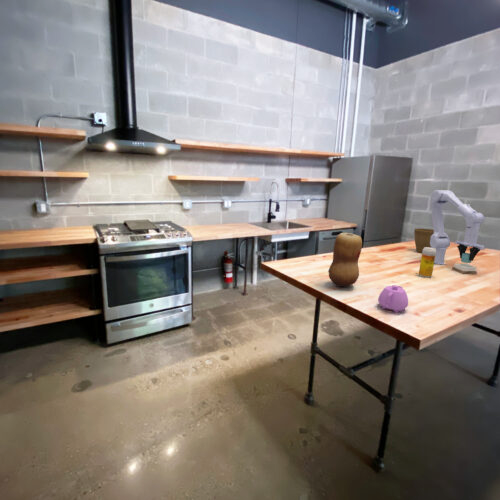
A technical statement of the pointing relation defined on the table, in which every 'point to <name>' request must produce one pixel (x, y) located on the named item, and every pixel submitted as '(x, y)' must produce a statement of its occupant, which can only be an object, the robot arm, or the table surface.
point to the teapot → (393, 298)
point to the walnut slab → (464, 271)
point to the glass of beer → (427, 262)
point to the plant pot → (422, 238)
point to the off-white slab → (465, 267)
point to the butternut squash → (345, 259)
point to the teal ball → (465, 258)
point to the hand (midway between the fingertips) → (466, 259)
